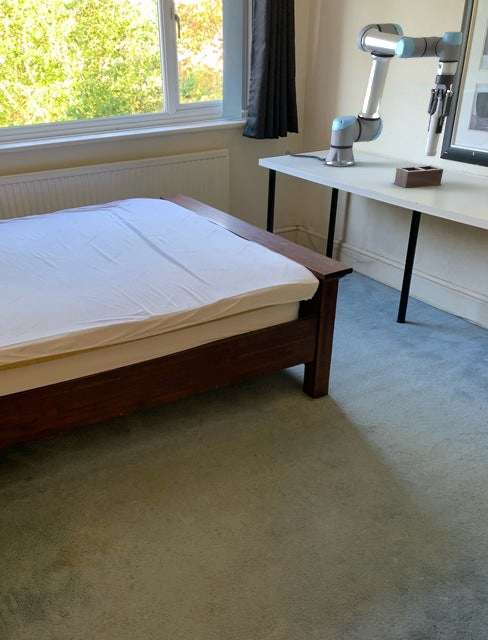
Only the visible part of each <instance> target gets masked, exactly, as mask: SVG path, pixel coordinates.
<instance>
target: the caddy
mask: <svg viewBox="0 0 488 640" xmlns="http://www.w3.org/2000/svg"><path fill="white" fill-rule="evenodd" d="M443 173H444V168H441V167H439V166H435V165H432V164H431V165H430V164H429V165H415V166H403V167H402V166H401V167H396V171H395V176H394V184H395V185H398V186H400V187H402V188H405V189H407V188H409V189H410V188H419V187H420V188H421V187H432V186H440V185H441V184H442V179H443Z"/></svg>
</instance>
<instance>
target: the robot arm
mask: <svg viewBox="0 0 488 640" xmlns="http://www.w3.org/2000/svg"><path fill="white" fill-rule="evenodd" d="M463 35H464V33H463V32H462V31H446V32H444V33H443V36H437V35H436V36H434V35H433V36H422V37H411V36H406V35H404V31H403V28H402V26H401V25H400V24H398V23H391V22H389V23H387V22H386V23H371V24H367V25H364V26H363V27H362V28H361V29H360V30H359V31H358V34H357V36H356V45H357V47H358V49H359V50H360V51H362V52H365V53H370V57H371V58H372V60H371V66H370V70H369V74H368V79H367V84H366V89H365V93H364V99H363V103H362V108H361V110H360V111H358V113H357V116H355V115H342V116H338V117H336V118H334V119H333V121H332V127H331V137H330V146H329V151H328V153H327V156H326V157H324V158H323V157H322V158H321V157H319V156H317V155H310V154H309V155H308V154H293V153H291V152H290V151H288V150H287V151H286V152H285V153H284V154H285V155H289V157H299V158H300V157H301V158H313V159H318V160H319V161H324V162H325V163H324V164H325V165H326V166H330V167H336V168H337V167H339V168H341V167H343V168H344V167H351V166H354V165H355V156H354V151H353V147H354V143H362V142H363V143H369V142H373V141H376V140H377V139H378V138H379V137H380V136H381V134H382V132H383V128H384V124H383V123H384V121H383V119H382V117H381V114H380V112H379V111H380V107H381V102H382V98H383V93H384V90H385V85H386V81H387V77H388V72H389V69H390V68H389V67H390V63H391V61H392V60H393V59H394V58H395V57H397V58H398V59H413V58H414V59H415V58H416V59H417V58H439V59H438V65H437V70H436V71H437V74H436V76H435V80H434V84H435V85H436V86H435V88H431V90H430V99H429V103H428V109H427V114H429V122H428V127H427V133H429V128H430V122H431V116H432V115H433V114H434V113H435V112H436V110H437V104H438V99H439V97H440V116H438V121H437V126H436V131H435V134H439V133H440V134H442V131H443V127H444V125H445V120H446V118H447V117H449V116H450V112H451V106H452V102H453V97H454V94H455V91H454V90H451V86H452V85H453V84H454V82H455V74H456V73H457V69H458V63H459V57H460V53H461V47H462V44H463Z"/></svg>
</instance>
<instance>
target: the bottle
mask: <svg viewBox="0 0 488 640" xmlns="http://www.w3.org/2000/svg"><path fill="white" fill-rule="evenodd" d="M438 116H440V97H439V99H438V104H437V110H436V112H435V113H434V114H433V115H432V116H431V122H430V128H429V132H427V134H428V135H427V141H426V145H425V150H424V156H425V157H436V155H437V153H438V151H437V149H438V144H439V140H440V136H441V133H439V134H435V131H436V126H437V121H438Z"/></svg>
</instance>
